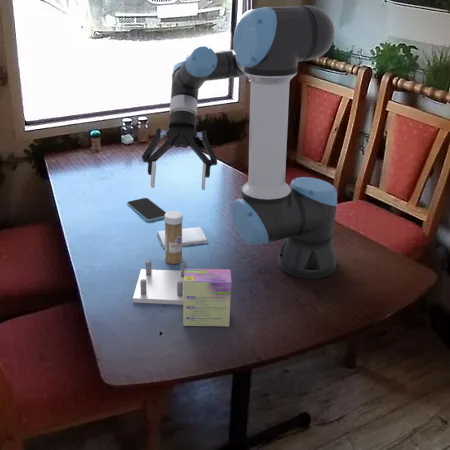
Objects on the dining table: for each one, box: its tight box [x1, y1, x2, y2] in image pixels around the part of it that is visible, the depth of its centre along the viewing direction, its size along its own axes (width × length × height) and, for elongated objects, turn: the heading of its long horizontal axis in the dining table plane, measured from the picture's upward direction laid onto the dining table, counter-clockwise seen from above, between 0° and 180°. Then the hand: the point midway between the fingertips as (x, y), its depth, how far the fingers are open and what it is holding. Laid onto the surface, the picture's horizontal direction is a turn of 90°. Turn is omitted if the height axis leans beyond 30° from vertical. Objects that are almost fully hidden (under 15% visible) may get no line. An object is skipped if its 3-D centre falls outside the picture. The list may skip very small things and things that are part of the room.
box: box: [182, 268, 232, 328], centre depth 143 cm, size 10×6×12 cm, turn 92°
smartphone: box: [126, 197, 167, 223], centre depth 194 cm, size 7×1×15 cm
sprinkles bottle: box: [163, 210, 184, 265], centre depth 165 cm, size 5×5×14 cm
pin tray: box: [132, 260, 187, 306], centre depth 155 cm, size 13×13×5 cm
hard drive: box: [157, 226, 208, 249], centre depth 179 cm, size 2×8×12 cm
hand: (177, 187), depth 172 cm, fingers open, 13 cm apart
